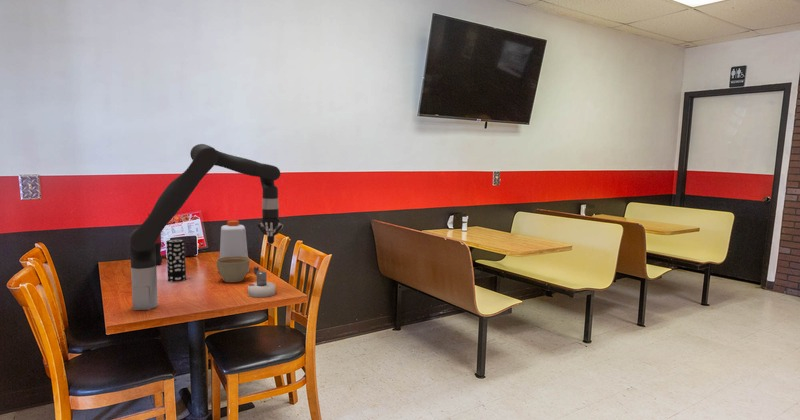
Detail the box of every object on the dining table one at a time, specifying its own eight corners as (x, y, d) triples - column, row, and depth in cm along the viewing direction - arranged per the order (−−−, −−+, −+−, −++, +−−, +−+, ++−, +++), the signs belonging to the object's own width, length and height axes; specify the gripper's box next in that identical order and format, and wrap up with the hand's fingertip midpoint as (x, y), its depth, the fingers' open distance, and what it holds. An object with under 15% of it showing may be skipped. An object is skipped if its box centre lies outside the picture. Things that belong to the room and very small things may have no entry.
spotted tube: (178, 282, 235) (177, 242, 232) (164, 281, 236) (162, 241, 234) (189, 278, 243) (188, 239, 241) (175, 277, 244) (173, 239, 242)
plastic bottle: (249, 274, 254) (248, 222, 251) (219, 276, 248) (218, 223, 245) (247, 267, 268) (246, 218, 265) (218, 269, 262) (217, 219, 259)
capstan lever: (267, 285, 218) (267, 273, 217) (257, 286, 216) (257, 274, 215) (260, 278, 230) (260, 266, 230) (251, 279, 228) (251, 267, 228)
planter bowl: (215, 285, 231) (214, 263, 230) (218, 277, 247) (217, 256, 245) (249, 283, 235) (249, 262, 234) (250, 275, 251) (250, 255, 250)
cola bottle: (146, 264, 271) (143, 212, 268) (162, 262, 275) (160, 211, 272) (145, 267, 264) (142, 213, 260) (162, 266, 267) (160, 213, 264)
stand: (273, 297, 214) (273, 287, 214) (246, 297, 212) (246, 287, 212) (276, 289, 226) (276, 280, 226) (250, 290, 224) (250, 280, 224)
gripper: (286, 207, 228) (287, 243, 230) (260, 206, 230) (261, 241, 232) (280, 209, 220) (280, 245, 222) (253, 208, 222) (254, 244, 224)
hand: (270, 243), depth 227 cm, fingers closed
